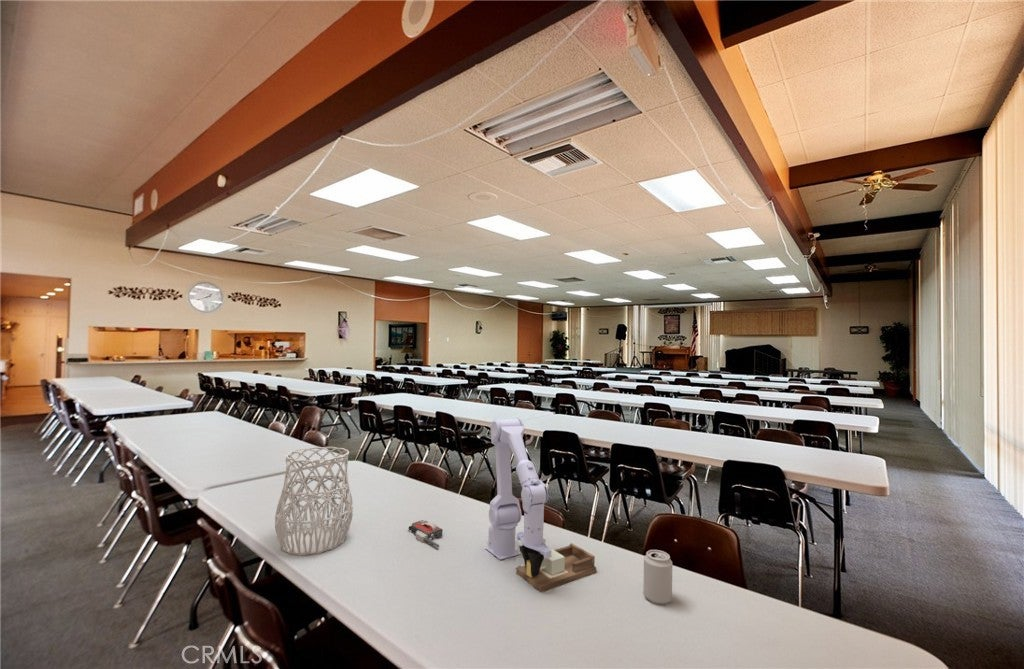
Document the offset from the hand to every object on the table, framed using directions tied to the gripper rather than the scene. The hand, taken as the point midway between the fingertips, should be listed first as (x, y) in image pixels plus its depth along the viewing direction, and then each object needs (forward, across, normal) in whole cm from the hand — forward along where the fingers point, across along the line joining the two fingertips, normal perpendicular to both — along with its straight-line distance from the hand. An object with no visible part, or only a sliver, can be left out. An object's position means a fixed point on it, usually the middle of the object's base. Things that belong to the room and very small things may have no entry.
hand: (532, 573), depth 127 cm
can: (+2, -25, -24) cm, 35 cm away
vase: (+2, +59, +49) cm, 77 cm away
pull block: (0, 0, -4) cm, 4 cm away
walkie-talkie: (+3, +42, +14) cm, 45 cm away
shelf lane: (+2, 0, -8) cm, 9 cm away
